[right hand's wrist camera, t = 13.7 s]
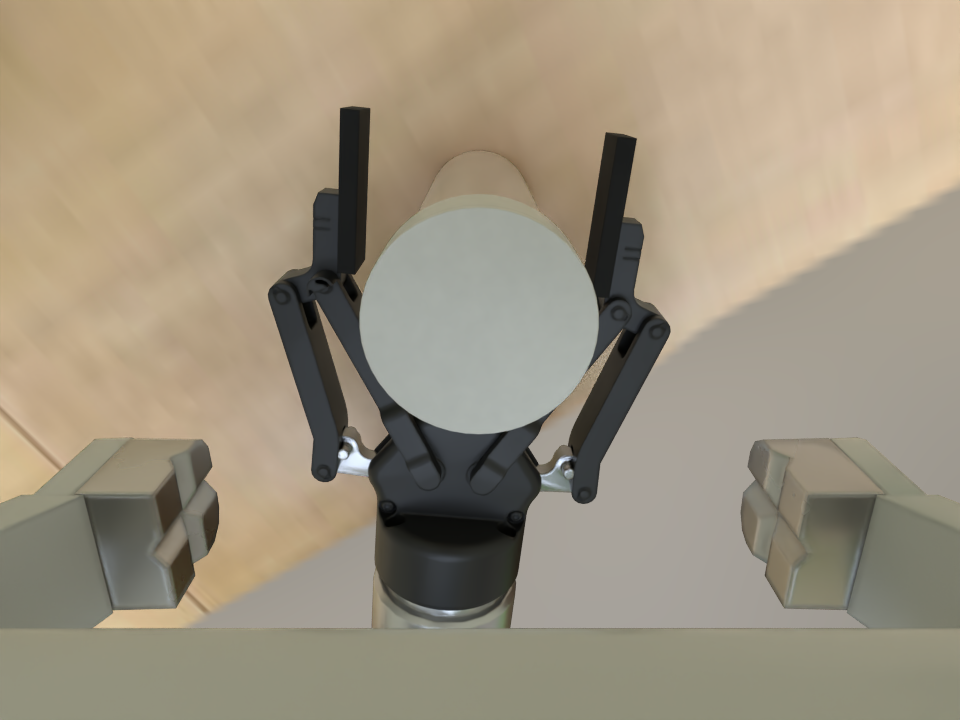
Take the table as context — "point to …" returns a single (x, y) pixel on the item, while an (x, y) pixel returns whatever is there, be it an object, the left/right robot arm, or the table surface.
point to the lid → (479, 315)
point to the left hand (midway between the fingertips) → (489, 121)
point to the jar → (479, 179)
